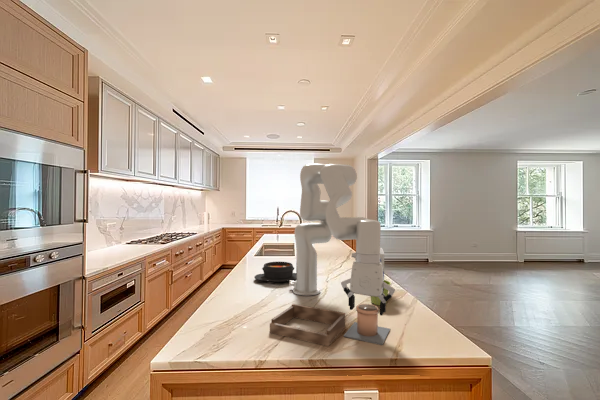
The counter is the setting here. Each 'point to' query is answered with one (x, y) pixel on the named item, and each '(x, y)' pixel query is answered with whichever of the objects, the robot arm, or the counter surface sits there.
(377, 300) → the plant pot
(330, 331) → the wooden tray
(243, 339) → the counter surface
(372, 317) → the terracotta pot
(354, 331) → the mat
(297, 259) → the robot arm
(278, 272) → the casserole
